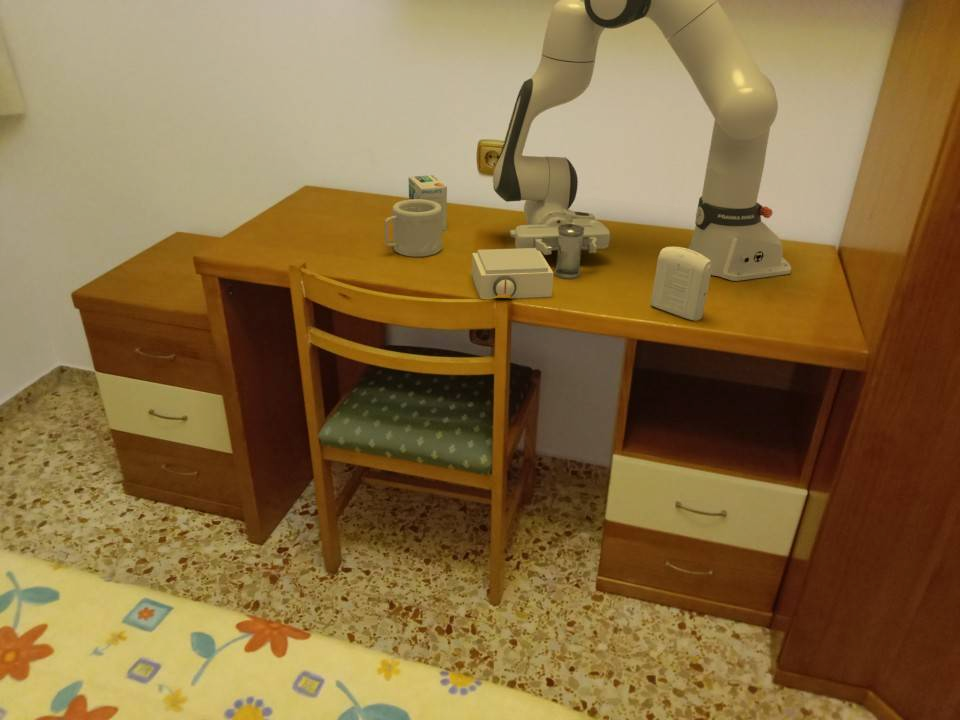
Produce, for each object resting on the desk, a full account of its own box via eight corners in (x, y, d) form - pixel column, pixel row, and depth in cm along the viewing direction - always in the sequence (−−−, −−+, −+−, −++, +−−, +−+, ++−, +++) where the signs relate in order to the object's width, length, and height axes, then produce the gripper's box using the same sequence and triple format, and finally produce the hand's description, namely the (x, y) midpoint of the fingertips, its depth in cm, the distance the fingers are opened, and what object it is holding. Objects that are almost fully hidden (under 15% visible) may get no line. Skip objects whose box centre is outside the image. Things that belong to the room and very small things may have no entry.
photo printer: (706, 316, 140) (718, 254, 134) (695, 323, 137) (706, 260, 131) (658, 300, 146) (667, 239, 140) (646, 306, 143) (655, 245, 137)
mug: (425, 237, 174) (424, 195, 169) (451, 251, 167) (451, 208, 162) (373, 248, 167) (371, 205, 162) (398, 264, 159) (397, 218, 155)
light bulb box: (408, 219, 185) (407, 176, 180) (434, 217, 188) (434, 174, 182) (420, 233, 177) (420, 188, 172) (447, 230, 179) (448, 186, 174)
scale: (538, 273, 157) (539, 246, 154) (553, 298, 145) (555, 270, 142) (471, 275, 154) (472, 249, 152) (481, 301, 143) (482, 273, 140)
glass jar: (576, 269, 159) (580, 223, 154) (582, 278, 155) (587, 232, 150) (552, 269, 158) (555, 224, 154) (558, 279, 154) (561, 232, 149)
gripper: (508, 215, 162) (521, 237, 150) (599, 213, 165) (619, 234, 153) (507, 243, 165) (520, 266, 153) (597, 240, 168) (616, 263, 156)
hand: (570, 250), depth 153 cm, fingers open, 8 cm apart
